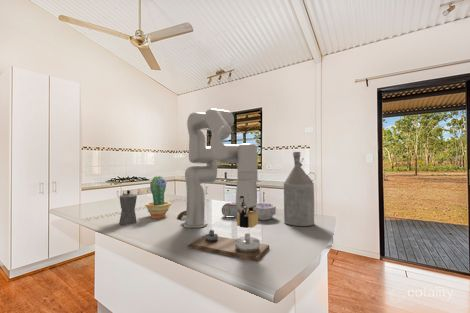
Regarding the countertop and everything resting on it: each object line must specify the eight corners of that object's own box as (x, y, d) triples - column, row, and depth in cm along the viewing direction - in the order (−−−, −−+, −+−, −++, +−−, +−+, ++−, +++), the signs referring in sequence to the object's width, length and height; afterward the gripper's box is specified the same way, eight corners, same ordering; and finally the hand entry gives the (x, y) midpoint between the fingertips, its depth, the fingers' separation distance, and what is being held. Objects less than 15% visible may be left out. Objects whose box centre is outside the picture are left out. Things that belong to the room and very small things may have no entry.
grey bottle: (316, 228, 118) (315, 151, 120) (282, 225, 124) (281, 151, 125) (316, 222, 130) (315, 152, 131) (285, 219, 136) (284, 152, 137)
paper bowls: (247, 220, 134) (247, 206, 134) (253, 214, 149) (253, 202, 149) (274, 222, 130) (274, 208, 130) (277, 216, 144) (277, 203, 144)
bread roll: (189, 214, 149) (189, 207, 149) (202, 217, 141) (202, 209, 141) (173, 218, 139) (173, 210, 139) (186, 222, 131) (186, 213, 132)
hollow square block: (236, 225, 85) (236, 213, 85) (243, 222, 90) (243, 210, 90) (252, 227, 82) (252, 215, 82) (258, 223, 87) (258, 211, 87)
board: (188, 247, 91) (188, 243, 91) (206, 237, 103) (206, 234, 103) (257, 261, 78) (256, 257, 78) (269, 248, 90) (269, 245, 90)
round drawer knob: (203, 241, 94) (203, 230, 94) (209, 237, 99) (209, 227, 99) (213, 243, 92) (213, 232, 92) (219, 239, 96) (219, 228, 97)
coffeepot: (141, 223, 126) (141, 190, 127) (123, 227, 120) (123, 192, 120) (131, 218, 138) (131, 188, 138) (113, 221, 131) (114, 189, 131)
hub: (231, 250, 84) (231, 234, 84) (241, 243, 92) (241, 228, 92) (254, 255, 80) (254, 238, 80) (262, 246, 88) (262, 231, 88)
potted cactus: (143, 220, 134) (144, 177, 135) (146, 214, 149) (146, 175, 150) (171, 218, 138) (171, 176, 139) (171, 213, 153) (171, 175, 154)
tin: (245, 217, 141) (246, 203, 141) (244, 219, 138) (244, 204, 138) (222, 216, 145) (222, 202, 145) (220, 217, 142) (221, 203, 142)
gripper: (247, 175, 96) (247, 219, 95) (227, 177, 81) (227, 229, 80) (264, 175, 93) (265, 221, 92) (247, 178, 77) (247, 232, 77)
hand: (247, 224), depth 86 cm, fingers closed on hollow square block, 5 cm apart
